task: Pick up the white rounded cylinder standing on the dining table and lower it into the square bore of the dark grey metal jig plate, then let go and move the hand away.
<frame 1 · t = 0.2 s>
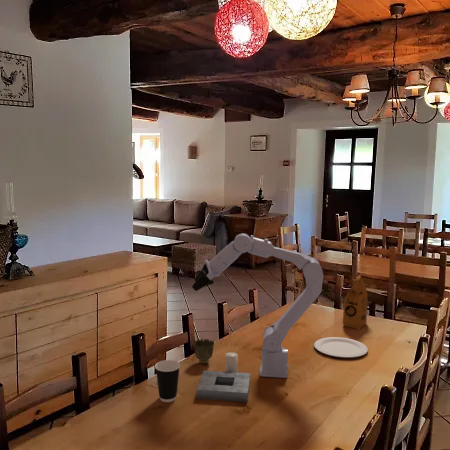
hand: (195, 285, 169), 31 cm above the table, tool tilted 45°, fingers open, 7 cm apart
jig: (224, 389, 157), on the table
white rounded cylinder: (231, 374, 169), on the table
coffee package: (354, 324, 221), on the table
cup: (203, 363, 178), on the table
dixie cup: (167, 399, 151), on the table
plate: (340, 350, 192), on the table
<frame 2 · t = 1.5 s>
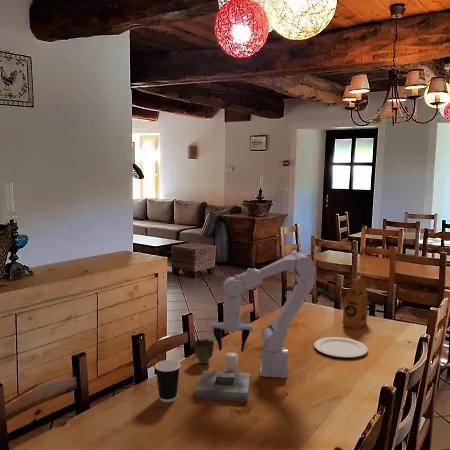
hand: (231, 350, 167), 9 cm above the table, tool pointing down, fingers open, 7 cm apart
nothing on the table moved.
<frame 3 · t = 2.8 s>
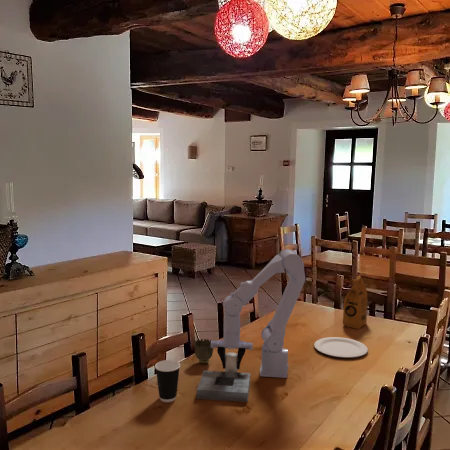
hand: (231, 367, 168), 2 cm above the table, tool pointing down, fingers closed on white rounded cylinder, 4 cm apart
white rounded cylinder: (231, 374, 169), on the table, touching gripper
everything else where it was.
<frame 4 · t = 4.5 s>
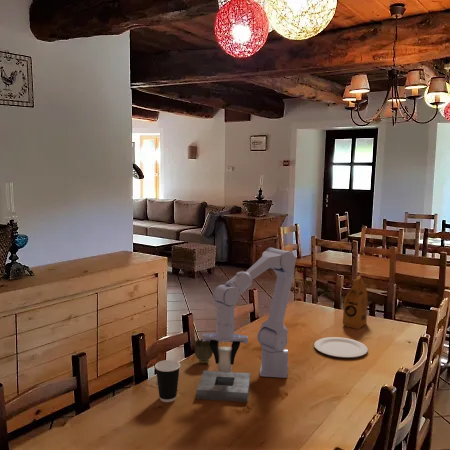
hand: (224, 362, 156), 9 cm above the table, tool pointing down, fingers closed on white rounded cylinder, 4 cm apart
white rounded cylinder: (224, 369, 156), point 7 cm above the table, touching gripper
everything else where it was.
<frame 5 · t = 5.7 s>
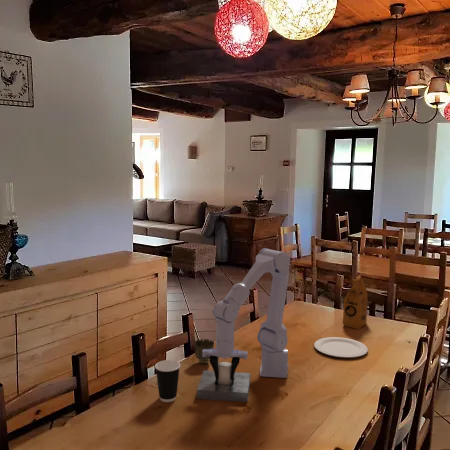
hand: (224, 378, 156), 4 cm above the table, tool pointing down, fingers closed on white rounded cylinder, 4 cm apart
white rounded cylinder: (224, 385, 157), point 1 cm above the table, touching gripper
everything else where it was.
when the fingers open (4 cm above the table, at t = 6.5 s): white rounded cylinder drops 1 cm, resting in jig.
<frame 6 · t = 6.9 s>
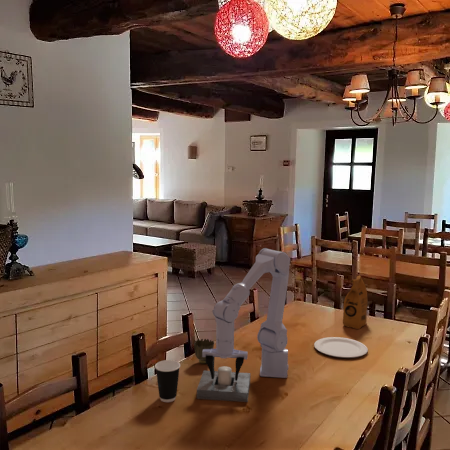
hand: (224, 378, 156), 4 cm above the table, tool pointing down, fingers open, 7 cm apart
white rounded cylinder: (224, 389, 157), resting in jig
everything else where it was.
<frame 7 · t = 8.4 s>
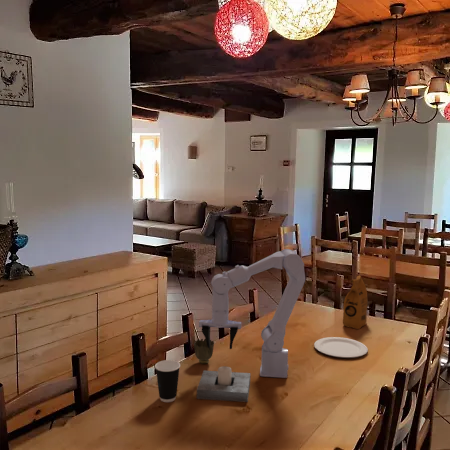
hand: (219, 347, 167), 10 cm above the table, tool pointing down, fingers open, 7 cm apart
nothing on the table moved.
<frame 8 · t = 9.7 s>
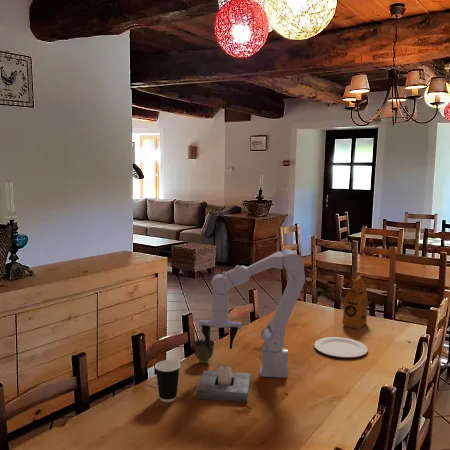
hand: (219, 347, 167), 10 cm above the table, tool pointing down, fingers open, 7 cm apart
nothing on the table moved.
at the end: white rounded cylinder 0.2 cm off-centre on the jig, point 0.0 cm above the jig's base; white rounded cylinder tilted 0°; the gripper is holding nothing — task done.
